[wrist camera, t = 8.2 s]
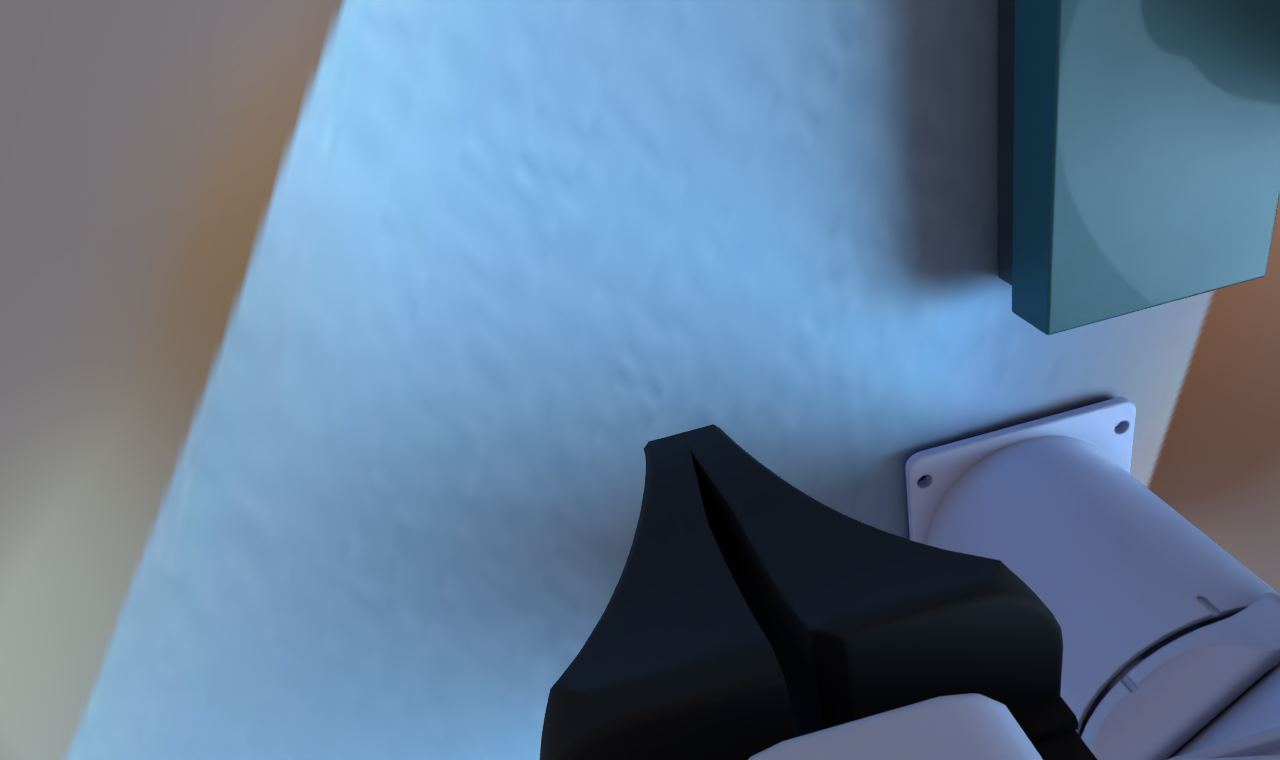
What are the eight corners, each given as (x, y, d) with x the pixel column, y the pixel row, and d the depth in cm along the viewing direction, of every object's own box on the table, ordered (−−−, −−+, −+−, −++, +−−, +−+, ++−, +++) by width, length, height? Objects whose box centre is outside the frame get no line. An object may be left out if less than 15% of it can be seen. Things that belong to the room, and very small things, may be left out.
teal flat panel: (1186, 244, 25) (1266, 277, 23) (988, 297, 25) (1047, 336, 22) (1243, -240, 19) (1362, -273, 17) (986, -178, 19) (1065, -201, 16)
